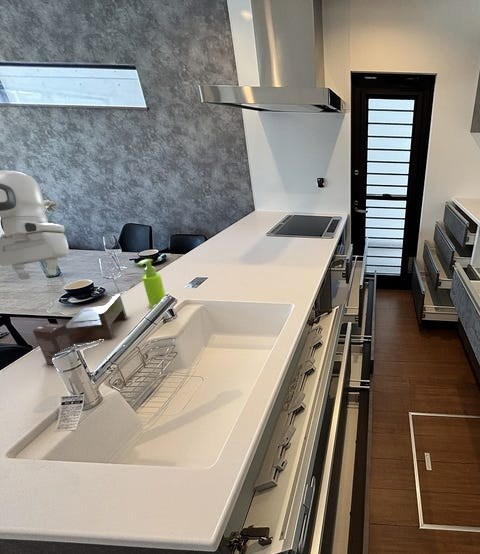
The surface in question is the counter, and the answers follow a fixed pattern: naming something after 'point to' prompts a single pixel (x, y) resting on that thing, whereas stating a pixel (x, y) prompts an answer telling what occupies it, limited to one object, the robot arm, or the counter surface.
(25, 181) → the robot arm
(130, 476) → the counter surface
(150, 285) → the soap dispenser
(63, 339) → the box
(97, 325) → the dark square tray
